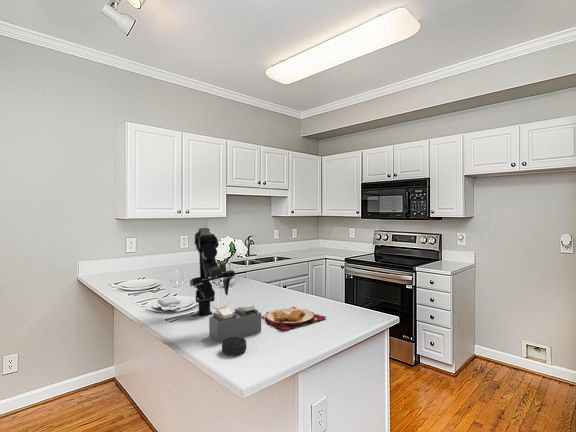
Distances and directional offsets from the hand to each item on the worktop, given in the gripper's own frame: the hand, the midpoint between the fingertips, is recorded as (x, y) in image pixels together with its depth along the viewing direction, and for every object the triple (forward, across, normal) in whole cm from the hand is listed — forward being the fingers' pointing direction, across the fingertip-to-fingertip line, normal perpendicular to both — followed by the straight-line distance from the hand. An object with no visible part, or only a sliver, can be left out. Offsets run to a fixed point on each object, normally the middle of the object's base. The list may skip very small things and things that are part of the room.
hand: (216, 297), depth 150 cm
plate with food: (+18, +33, +4) cm, 38 cm away
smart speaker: (+21, -4, -18) cm, 28 cm away
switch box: (+16, +4, -3) cm, 17 cm away
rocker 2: (+7, +10, -6) cm, 14 cm away
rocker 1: (+7, 0, -7) cm, 10 cm away
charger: (0, -12, +42) cm, 44 cm away
